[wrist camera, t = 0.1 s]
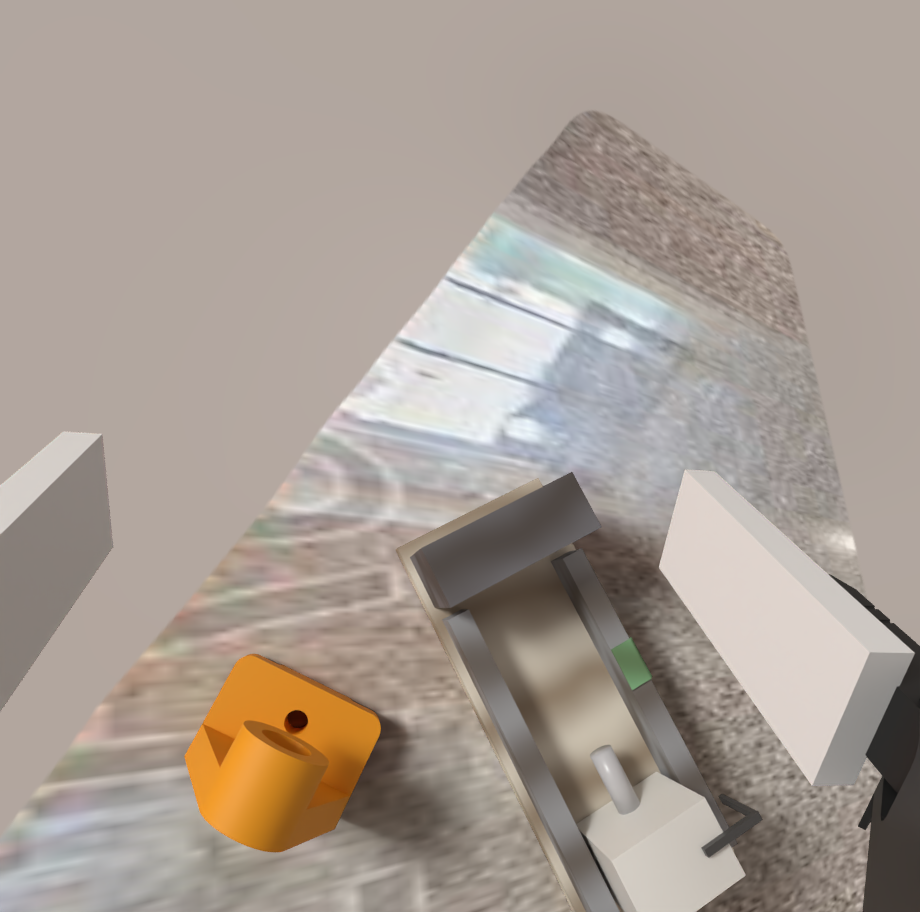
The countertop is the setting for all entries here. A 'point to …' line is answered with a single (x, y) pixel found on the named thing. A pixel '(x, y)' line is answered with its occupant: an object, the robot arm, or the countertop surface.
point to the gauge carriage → (660, 841)
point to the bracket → (278, 756)
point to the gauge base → (547, 666)
